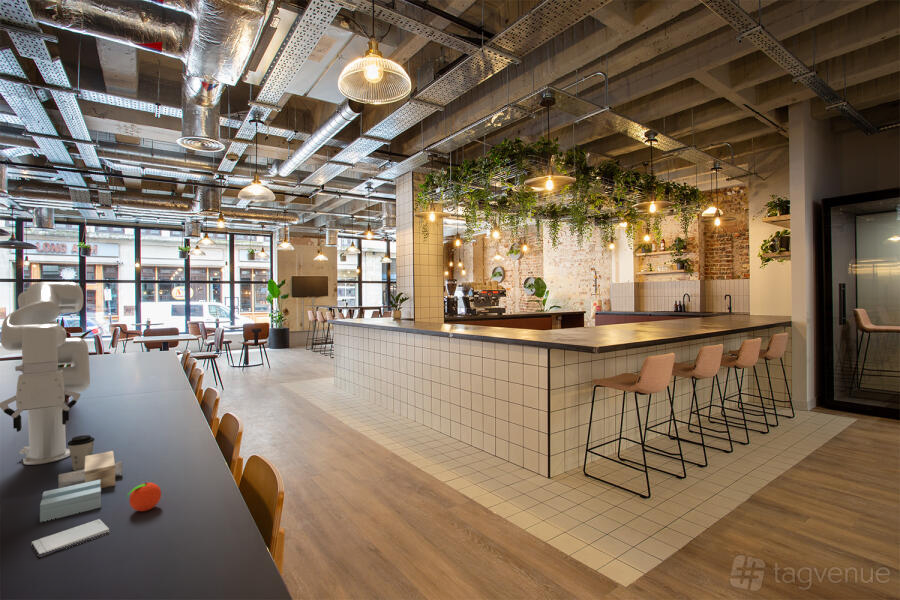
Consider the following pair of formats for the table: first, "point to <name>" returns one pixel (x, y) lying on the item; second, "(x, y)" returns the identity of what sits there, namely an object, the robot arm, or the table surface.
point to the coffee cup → (80, 450)
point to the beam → (100, 468)
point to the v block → (70, 500)
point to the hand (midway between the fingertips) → (42, 427)
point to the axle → (82, 476)
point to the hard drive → (70, 536)
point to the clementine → (144, 496)
